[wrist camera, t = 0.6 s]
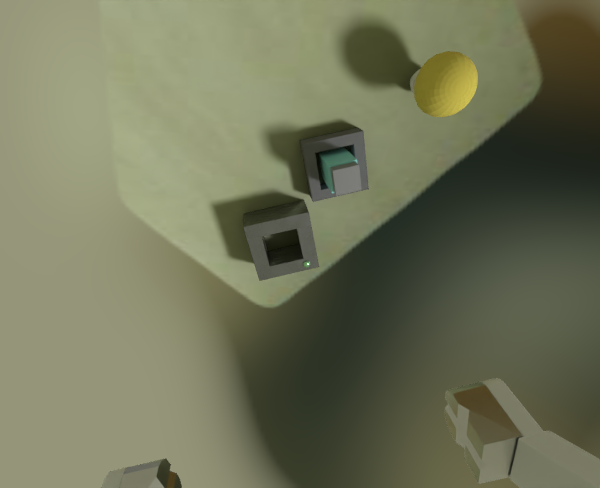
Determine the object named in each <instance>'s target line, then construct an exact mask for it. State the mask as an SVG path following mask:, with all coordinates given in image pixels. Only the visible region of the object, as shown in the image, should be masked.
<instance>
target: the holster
mask: <svg viewBox="0 0 600 488" xmlns="http://www.w3.org/2000/svg"><path fill="white" fill-rule="evenodd" d="M300 143H301V149H302V154H303V160H304V165H305V171H306V176H307V182H308V187H309V193H310V197H311V199H312V201H313V202H314V201H318V200H323V199H327V198H332V197H336V195H335V193H332V192H331V191H330V189H329V188H328V186H327V184H326V183H321V184H320V180H319V174H318V168H317V162H316V156H315V153H317V152H321V151H326V150H330V149H335V148H339V147H344V146H348V145H350V153H351V154H352V155H353V156H354V157H355V158H356V159H357V163H358V164H359V168H360V178H361V188H362V190H367V189H369V188H368V177H367V166H366V155H365V143H364V132H363V130H361V129H359V128H353V129H349V130H344V131H340V132H335V133H331V134H326V135H322V136H317V137H313V138H308V139H304V140H300ZM362 190H360V191H362ZM356 192H358V191H356ZM351 193H354V192H351ZM347 194H349V193H347ZM342 195H345V194H342ZM338 196H340V195H338Z"/></svg>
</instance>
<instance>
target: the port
mask: <svg viewBox="0 0 600 488" xmlns="http://www.w3.org/2000/svg"><path fill="white" fill-rule="evenodd" d="M243 228H244V231H245V235H246V238H247V241H248V244H249V248H250V251H251V254H252V258H253V261H254V264H255V268H256V271H257V274H258V277H259V281H261V280H265V279H269V278H274V277H278V276H282V275H286V274H291V273H295V272H299V271H304V270H308V269H312V268H316V267H319V264H318V259H317V253H316V248H315V243H314V237H313V232H312V227H311V222H310V216H309V212H308V209H307V207H306V204H305V202H304V200H302V201H298V202H293V203H289V204H285V205H280V206H276V207H271V208H267V209H263V210H258V211H254V212H249V213H245V214H244V219H243ZM293 229H296V231H297V235H298V240H299V244H297V245H293V246H288V247H284V248H280V249H275V250H271V251H268V249H267V245H266V242H265V238H264V236H267V235H271V234H275V233H280V232H284V231H289V230H293Z"/></svg>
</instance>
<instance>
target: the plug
mask: <svg viewBox="0 0 600 488" xmlns="http://www.w3.org/2000/svg"><path fill="white" fill-rule="evenodd" d="M319 160H320V166H321V172H322V178H323V180H324V181H325V183H326V184H327V186H328V188H329V189H330V191H331V192H332V193H335V195H336V196H338V195H342V194H347V193H351V192H356V191H360V190H362V188H361V178H360V168H359V164H358V163H357V159H356V158H355V157H354V156H353V155H352V154H351V153H350V152H349V151H347V150H346V149H345V148H344V147H343V148H338V149H334V150H329V151H325V152H320V153H319Z"/></svg>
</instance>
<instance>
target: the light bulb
mask: <svg viewBox="0 0 600 488" xmlns="http://www.w3.org/2000/svg"><path fill="white" fill-rule="evenodd" d="M477 83H478V74H477V71H476V67H475V65H474V64H473V62H472V61H471V60H470V58H469V57H467V56H465V55H463V54H461V53H460V52H450V51H447V52H443V53H440V54H436V55H435V56H433V57H432V58H430V59H429V60H428V61H427V62H426V63H425V64H424V65H423V66H422V68H421V69H419V70H418V71H416V72H415V74H414V75H413V76H412V77H411V79H410V87H411V90H412V92H413V93H414V95H415V100H416V102H417V105H418V107H419V108H420V109H421V110H422V111H423V112H425V113H427V114H429V115H431V116H434V117H446V116H450V115H453V114H455V113H457V112H458V111H460V110H462V109H463V108H464V107H465V106H466V105H467V104H468V103H469V102H470V101H471V99H472V97H473V95H474V94H475V91H476V88H477Z"/></svg>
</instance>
